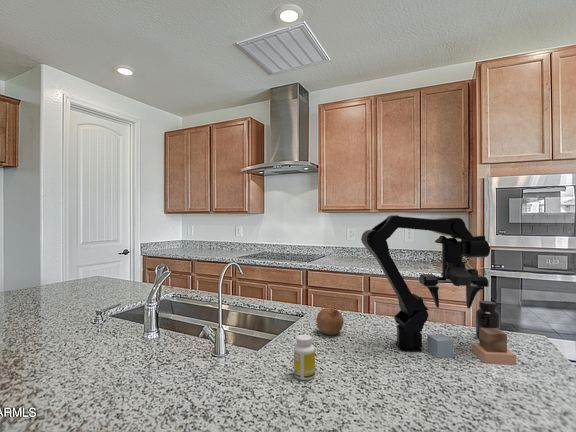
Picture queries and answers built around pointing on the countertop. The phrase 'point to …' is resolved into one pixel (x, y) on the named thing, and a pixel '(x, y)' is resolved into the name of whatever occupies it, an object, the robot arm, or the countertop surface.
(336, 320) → the onion
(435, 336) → the slate-blue cube
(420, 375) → the countertop surface
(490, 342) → the walnut cube
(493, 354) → the base block
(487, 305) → the supplement bottle
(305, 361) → the supplement bottle
